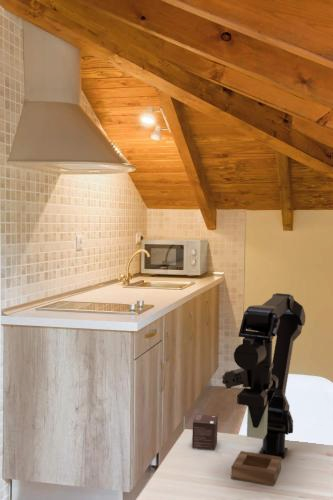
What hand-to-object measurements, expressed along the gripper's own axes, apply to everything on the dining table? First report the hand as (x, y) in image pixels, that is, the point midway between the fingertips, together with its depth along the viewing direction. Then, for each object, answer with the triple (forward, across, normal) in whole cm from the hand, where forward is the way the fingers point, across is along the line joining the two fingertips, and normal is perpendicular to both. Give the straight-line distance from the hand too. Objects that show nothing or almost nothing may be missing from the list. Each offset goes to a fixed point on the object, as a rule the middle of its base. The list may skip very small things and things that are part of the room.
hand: (257, 424), depth 148 cm
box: (+12, -12, -16) cm, 24 cm away
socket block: (+12, 0, 0) cm, 12 cm away
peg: (+2, 0, 0) cm, 2 cm away
